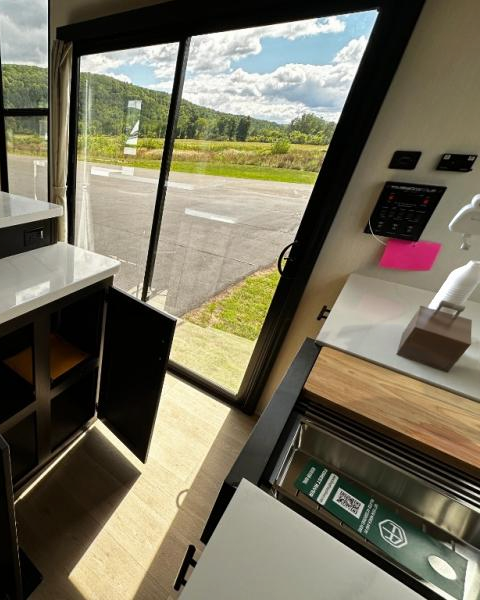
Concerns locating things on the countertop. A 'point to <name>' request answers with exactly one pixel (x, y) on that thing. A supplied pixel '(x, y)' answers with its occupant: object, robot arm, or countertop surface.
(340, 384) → the countertop surface
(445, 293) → the water bottle
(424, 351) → the chest
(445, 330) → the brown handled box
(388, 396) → the countertop surface
